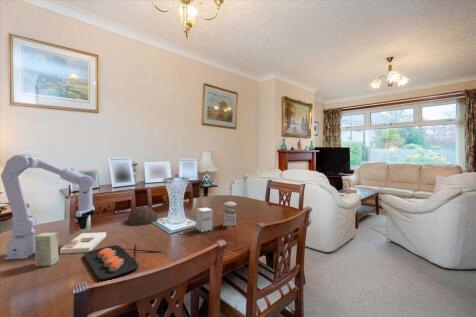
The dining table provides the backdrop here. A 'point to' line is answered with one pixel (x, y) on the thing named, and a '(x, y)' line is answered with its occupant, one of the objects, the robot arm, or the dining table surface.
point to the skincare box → (46, 249)
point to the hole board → (83, 243)
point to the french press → (232, 213)
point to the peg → (87, 225)
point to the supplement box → (204, 219)
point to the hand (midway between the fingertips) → (85, 227)
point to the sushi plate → (111, 261)
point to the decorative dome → (142, 216)
